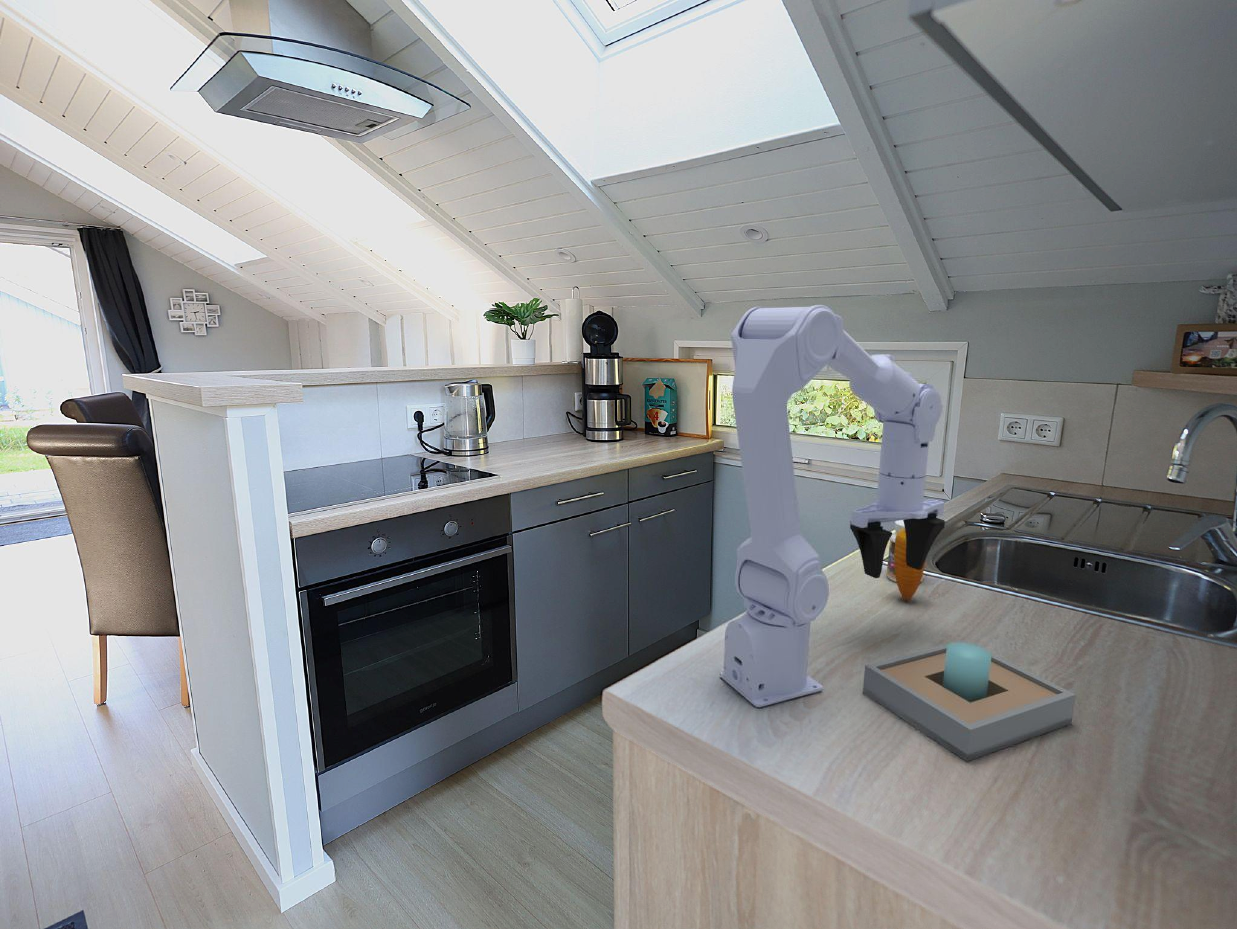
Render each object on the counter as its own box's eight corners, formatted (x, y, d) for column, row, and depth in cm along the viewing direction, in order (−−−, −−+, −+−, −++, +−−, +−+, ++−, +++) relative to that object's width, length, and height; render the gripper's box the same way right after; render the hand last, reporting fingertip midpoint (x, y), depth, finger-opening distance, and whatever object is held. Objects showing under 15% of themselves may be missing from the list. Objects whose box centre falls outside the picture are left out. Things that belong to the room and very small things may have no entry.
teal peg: (964, 715, 73) (970, 664, 72) (932, 695, 77) (937, 646, 76) (994, 707, 75) (1000, 657, 73) (961, 687, 79) (966, 639, 77)
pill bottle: (879, 574, 116) (884, 519, 114) (908, 572, 118) (913, 517, 116) (900, 586, 111) (905, 529, 109) (930, 583, 112) (936, 526, 110)
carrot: (917, 595, 108) (926, 504, 105) (928, 607, 103) (937, 513, 100) (885, 593, 108) (893, 503, 105) (894, 606, 103) (903, 512, 100)
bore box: (966, 761, 66) (970, 729, 66) (862, 692, 79) (865, 665, 78) (1071, 723, 73) (1075, 694, 72) (959, 665, 85) (962, 639, 85)
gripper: (883, 485, 82) (874, 590, 85) (967, 475, 88) (956, 573, 91) (842, 473, 89) (835, 571, 91) (923, 465, 94) (914, 557, 97)
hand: (893, 571), depth 92 cm, fingers open, 7 cm apart
